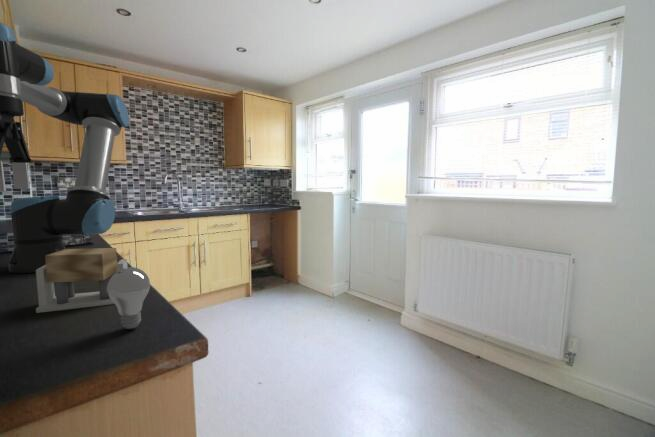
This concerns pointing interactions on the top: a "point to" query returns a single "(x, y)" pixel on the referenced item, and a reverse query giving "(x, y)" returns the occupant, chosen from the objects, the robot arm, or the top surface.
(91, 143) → the robot arm
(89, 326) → the top surface
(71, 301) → the peg stand
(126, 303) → the light bulb
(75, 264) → the wooden block
